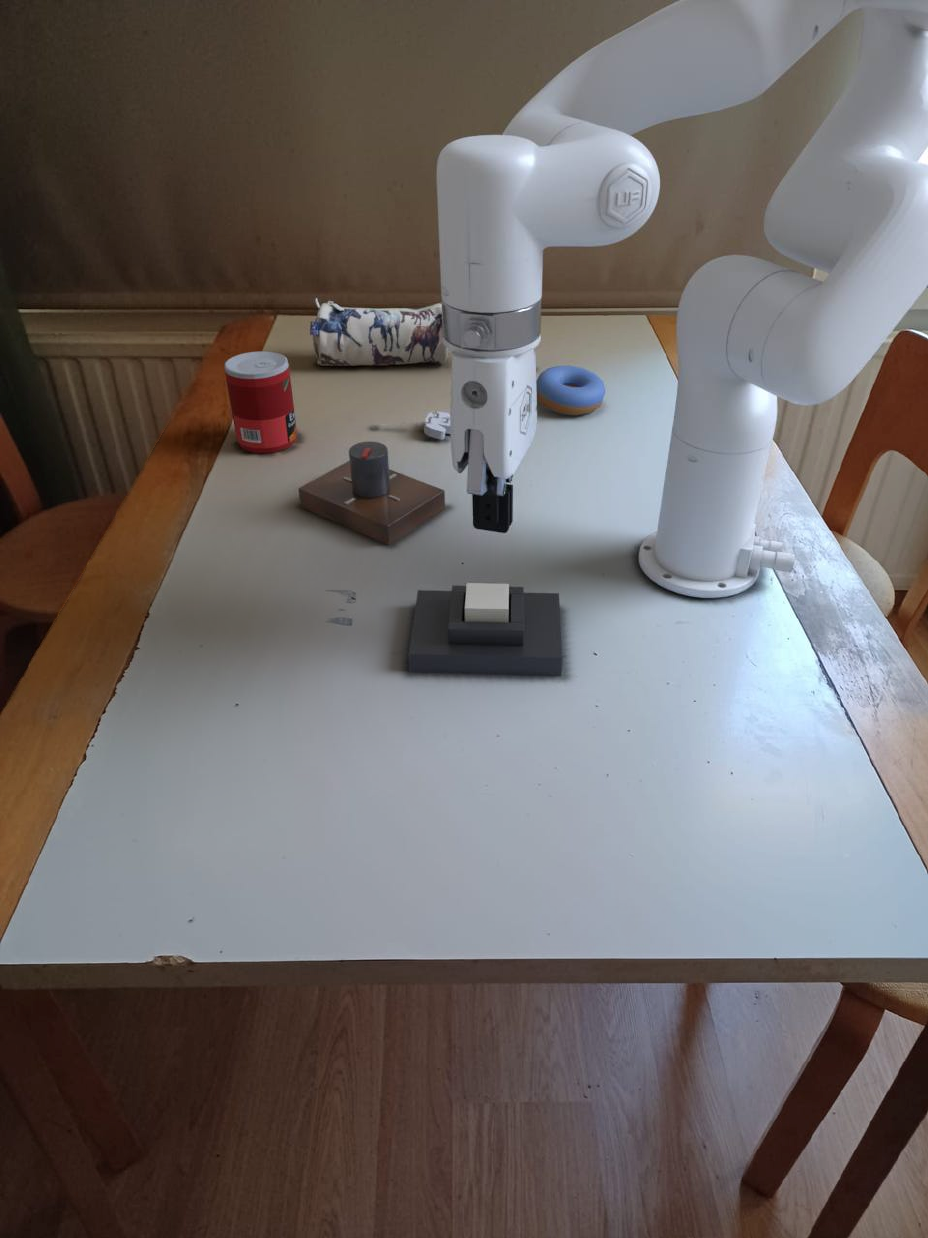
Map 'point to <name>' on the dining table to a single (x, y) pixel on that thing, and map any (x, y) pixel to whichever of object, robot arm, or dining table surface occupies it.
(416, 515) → the panel
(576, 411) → the doughnut
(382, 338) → the pencil case
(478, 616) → the white block
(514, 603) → the tiered stepped pedestal
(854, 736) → the dining table surface
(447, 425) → the game controller
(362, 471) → the volume knob
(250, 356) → the canned food
